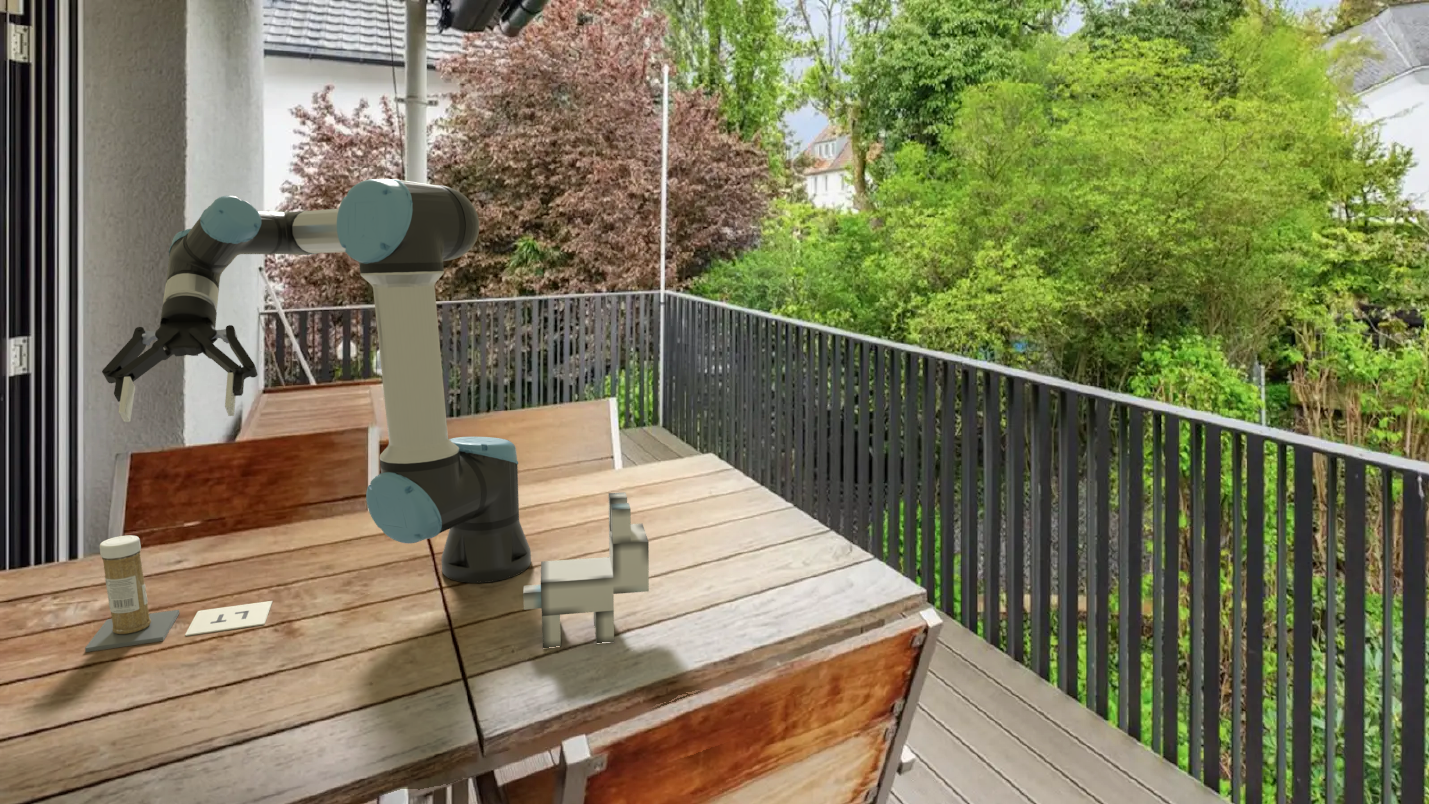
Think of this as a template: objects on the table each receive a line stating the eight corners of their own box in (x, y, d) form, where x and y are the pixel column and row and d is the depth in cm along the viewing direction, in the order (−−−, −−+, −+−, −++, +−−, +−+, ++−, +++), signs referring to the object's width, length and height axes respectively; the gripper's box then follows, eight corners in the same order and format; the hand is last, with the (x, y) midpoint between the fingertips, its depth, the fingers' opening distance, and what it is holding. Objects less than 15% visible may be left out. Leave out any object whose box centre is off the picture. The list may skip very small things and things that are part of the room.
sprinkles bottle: (158, 620, 114) (146, 534, 112) (137, 635, 110) (124, 545, 107) (126, 620, 114) (114, 534, 112) (103, 635, 110) (90, 546, 107)
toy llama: (526, 625, 116) (521, 497, 112) (642, 616, 119) (642, 491, 115) (524, 650, 108) (519, 514, 105) (648, 639, 112) (648, 507, 108)
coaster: (179, 613, 118) (179, 609, 118) (163, 640, 110) (162, 636, 110) (107, 623, 115) (107, 619, 114) (85, 652, 106) (84, 648, 106)
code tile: (272, 601, 122) (272, 600, 122) (264, 624, 115) (264, 623, 115) (198, 612, 118) (197, 610, 118) (185, 636, 111) (184, 634, 111)
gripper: (278, 321, 137) (274, 421, 126) (106, 324, 127) (86, 433, 117) (271, 292, 131) (266, 395, 120) (90, 293, 122) (68, 405, 111)
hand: (178, 414), depth 118 cm, fingers open, 13 cm apart
